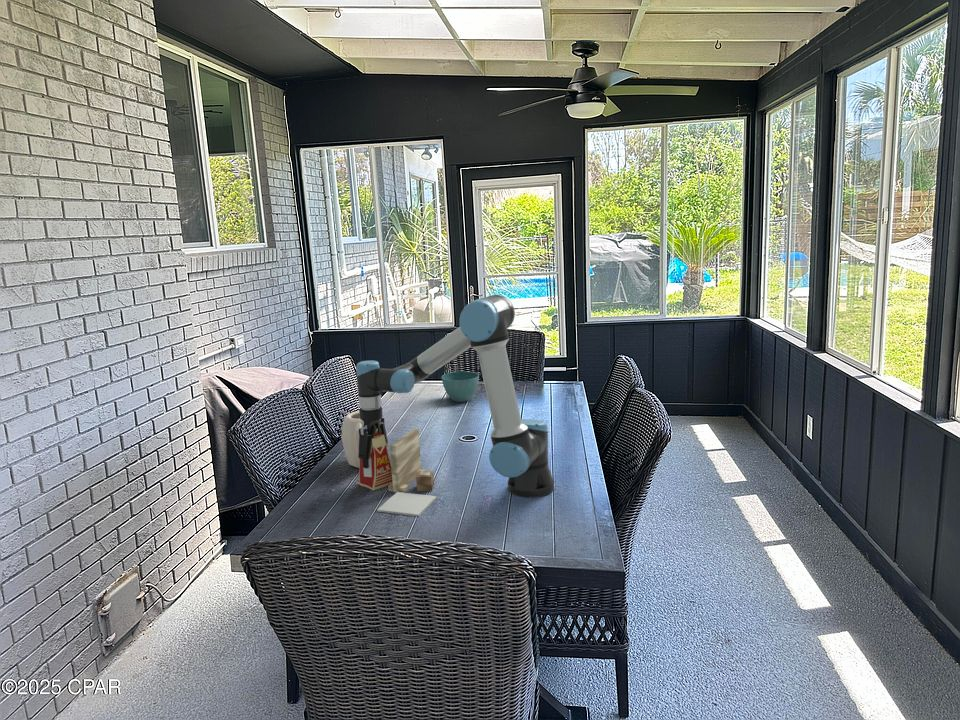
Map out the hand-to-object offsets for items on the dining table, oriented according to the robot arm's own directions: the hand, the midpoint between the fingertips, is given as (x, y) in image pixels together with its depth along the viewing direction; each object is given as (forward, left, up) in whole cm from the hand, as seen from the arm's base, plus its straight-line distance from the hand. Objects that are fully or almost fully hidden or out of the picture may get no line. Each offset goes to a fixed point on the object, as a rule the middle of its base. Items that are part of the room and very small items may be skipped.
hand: (375, 471), depth 227 cm
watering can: (+14, -18, -5) cm, 23 cm away
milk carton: (0, 0, -5) cm, 5 cm away
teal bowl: (+10, -108, -5) cm, 109 cm away
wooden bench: (-10, -4, -4) cm, 12 cm away
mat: (-18, +13, -4) cm, 23 cm away
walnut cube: (-18, -1, -5) cm, 19 cm away
